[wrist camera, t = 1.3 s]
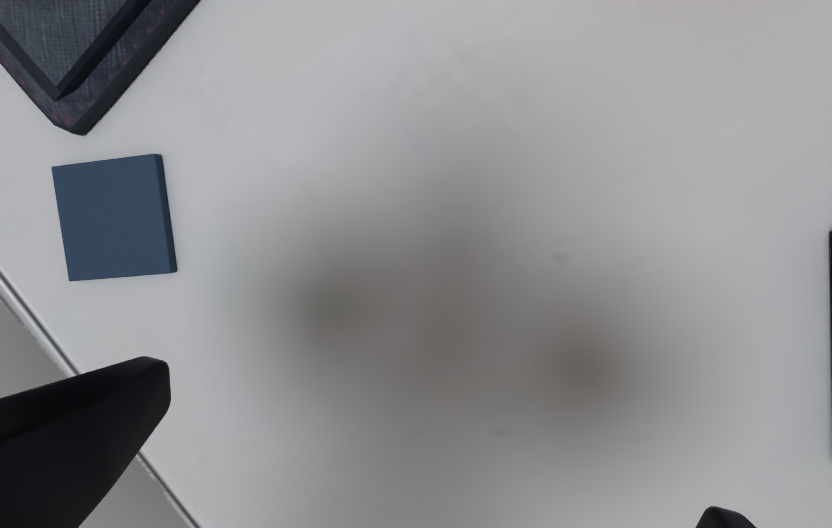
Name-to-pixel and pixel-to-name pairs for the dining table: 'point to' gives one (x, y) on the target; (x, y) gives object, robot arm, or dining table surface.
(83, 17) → the wallet
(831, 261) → the black square tray
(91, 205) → the mat
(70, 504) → the robot arm
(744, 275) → the dining table surface
